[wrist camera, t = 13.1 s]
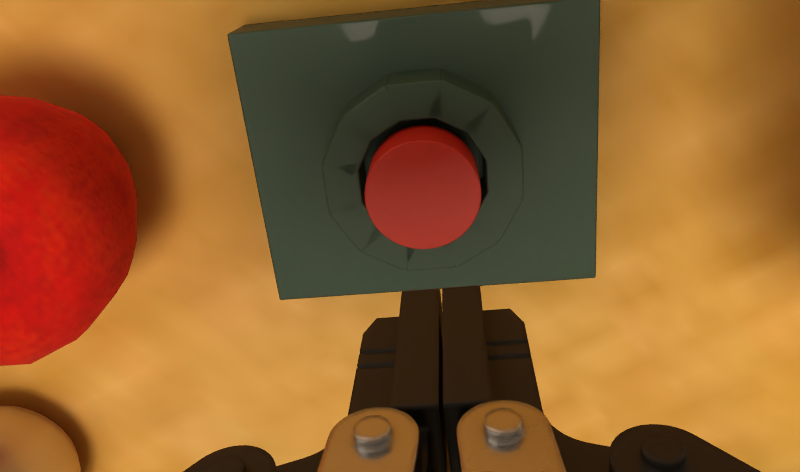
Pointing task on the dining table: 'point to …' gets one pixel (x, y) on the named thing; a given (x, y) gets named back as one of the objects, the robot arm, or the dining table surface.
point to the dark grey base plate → (425, 105)
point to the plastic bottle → (34, 443)
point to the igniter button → (423, 187)
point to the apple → (58, 226)
